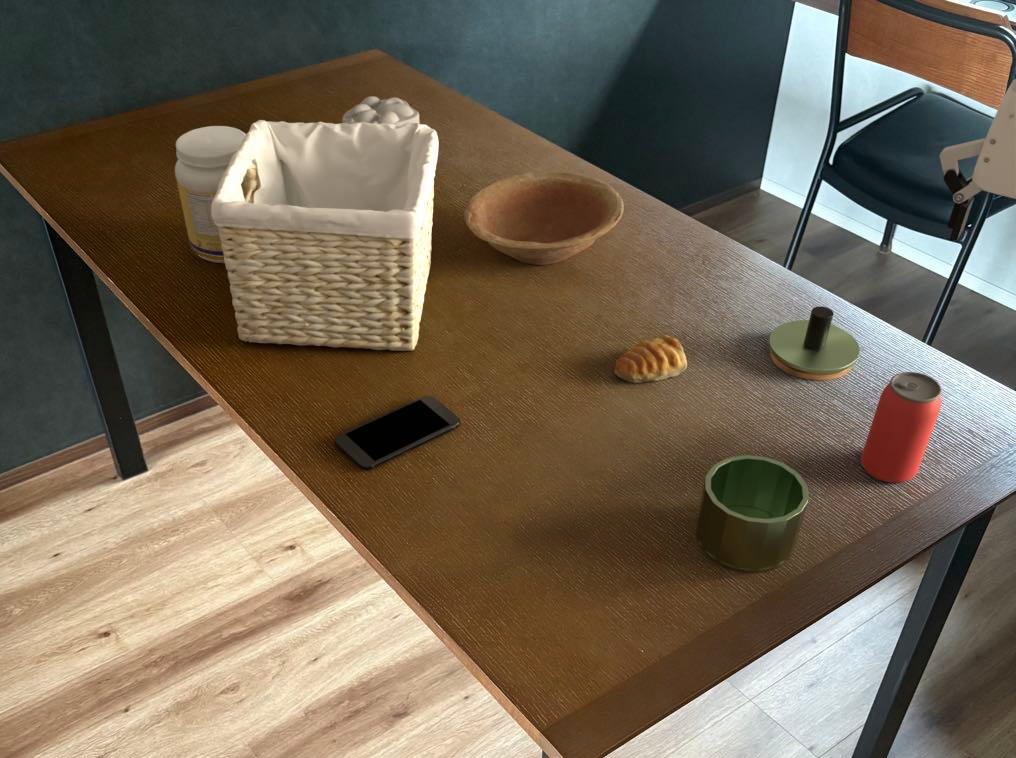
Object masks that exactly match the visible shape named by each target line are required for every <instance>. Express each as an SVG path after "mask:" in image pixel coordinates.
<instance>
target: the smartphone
mask: <svg viewBox="0 0 1016 758" xmlns="http://www.w3.org/2000/svg"><path fill="white" fill-rule="evenodd" d="M460 426H461V419H460V417H458V416H457V415H456V414H455V413H454V412H453V411H451V410H450V409H449V408H447V406H445V405H444V404H443V403H442V402H441V401H439V400H438V399H436V397H434V396H432V395H423V396H421V397H419V398H416V399H414V400H412V401H410V402H407V403H405V404H403V405H401V406H398V407H397V408H394V409H391V410H390V411H387V412H385V413H383V414H382V415H379V416H377V417H375V418H373V419H370V420H369V421H366V422H364V423H362V424H359V425H357V426H356V427H353V428H351V429H349V430H346V431H344V432H342V433H340V434H338V435H336V437H335V438H334V440H333V442H334V445H335V446H336V447H337V448H338V449H340V451H342V452H343V453H344V455H346V456H347V457H348V458H349V459H350V460H351V461H352V462H353V463H355V464H356V466H357V467H359V468H360V469H361V470H364V471H370V470H373V469H375V468H376V467H379V466H381V465H383V464H385V463H387V462H390V461H391V460H393V459H395V458H397V457H400V456H401V455H405V454H406V453H408V452H410V451H412V450H415V449H416V448H418V447H420V446H423V445H425V444H426V443H429V442H431V441H433V440H435V439H437V438H439V437H441V436H444V435H445V434H447V433H449V432H451V431H453V430H455V429H458V427H460Z"/></svg>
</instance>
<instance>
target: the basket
mask: <svg viewBox="0 0 1016 758" xmlns="http://www.w3.org/2000/svg"><path fill="white" fill-rule="evenodd" d="M419 123H420V122H419ZM419 123H406V124H403V125H402V126H400V127H399V126H396V125H393V124H384V123H381V124H373V123H366V122H360V123H353V124H347V123H342V122H340V123H333V122H323V121H318V122H306V123H305V122H286V121H283V120H281V121H266V120H265V119H258V120H257V121H256V122H254V123H251V124H250V128H249V130H248V132H247V133H245V134H246V135H245V137H244V139H243V141H242V143H241V145H240V146H239V148H238V150H237V152H236V153H235V154H234V155H233V156H232V158H231V160H230V163H229V166H228V167H227V169H226V171H225V172H224V174H223V176H222V179H221V181H220V183H219V185H218V189H217V193H216V195H215V197H214V199H213V201H212V204H211V216H212V219H213V221H214V224H215V225H216V226H218V230H219V237H220V240H221V242H222V250H223V254H224V262H225V263H224V266H225V269H226V271H227V278H228V281H229V284H230V285H229V290H230V293H231V297H232V300H231V301H232V302H231V303H232V306H233V309H234V311H235V312H234V317H235V320H236V323H237V328H236V329H237V330H236V331H237V335H238V339H239V340H241V341H243V340H244V341H243V342H247V341H249V342H248V343H256V344H257V343H258V344H277V345H283V344H284V345H295V346H316V347H321V346H323V347H330V348H353V349H354V348H355V349H370V350H374V351H386V350H387V351H400V352H401V351H402V352H404V351H405V352H407V351H409V352H410V351H414V350H415V349H416V346H417V345H418V340H419V335H420V334H419V332H420V323H421V320H422V315H423V308H424V307H423V306H424V303H425V293H426V291H427V285H428V278H429V275H430V270H431V264H432V260H431V259H432V233H433V232H432V231H433V230H432V228H433V223H434V222H433V214H434V197H435V188H434V185H435V180H434V179H435V177H436V170H437V165H438V164H437V163H438V157H439V144H440V143H439V137H438V136H439V135H438V132H437V131H436V129H434V128H431V126H428V125H427V124H422V123H420V124H419ZM244 176H245V177H246V182H247V183H248V188H249V190H248V191H247V195H246V197H245V198H244V195H243V190H242V186H241V183H242V182H243V178H244Z"/></svg>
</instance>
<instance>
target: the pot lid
mask: <svg viewBox="0 0 1016 758" xmlns="http://www.w3.org/2000/svg"><path fill="white" fill-rule="evenodd" d="M833 317H834V311H833V310H832V309H831V308H829V307H826V306H821V305H820V306H815V307H812V309H811V311H810V315H809V319H802V320H801V319H799V320H793V321H788V322H785V323H782V324H780V325H778V326H777V327H775V328H774V329H773V330H772V332H771V333H770V335H769V339H768V348H769V351H770V350H771V352H772V353H773V355H774V356H775V357H776V358H777V359H778V360H780V361H781V362H783V363H784V364H786V365H788V366H790V367H792V368H795V369H798V370H801V371H805V372H810V373H821V374H825V373H835V372H840V371H843V370H846V369H848V368H850V367H851V366H852V367H853V366H854V365H855V364H856V363H857V361H858V360H859V356H860V353H861V350H860V349H861V348H860V344H859V343H858V340H857V339H856V338H855V337H854V336H853V335H852V334H851V333H849V332H848V331H846V330H845V329H843V328H841V327H839V326H837V325H835V324H832V322H833Z"/></svg>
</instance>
